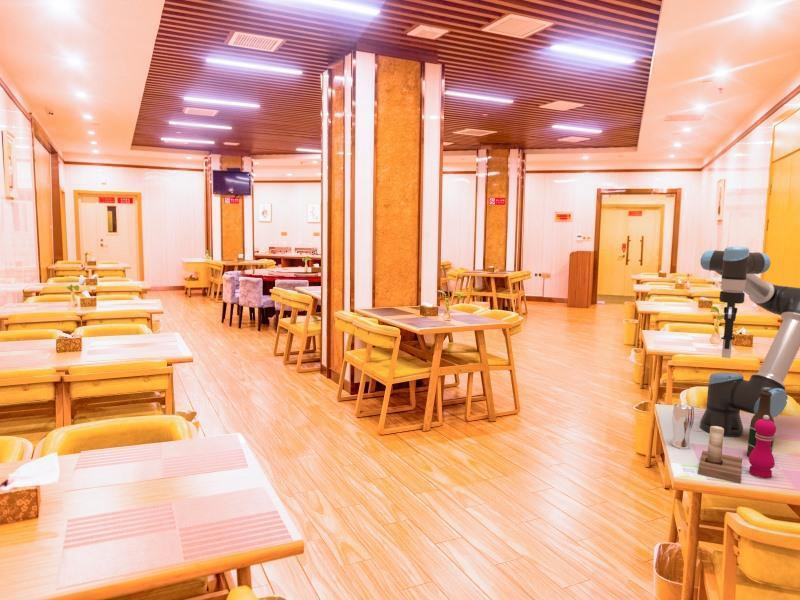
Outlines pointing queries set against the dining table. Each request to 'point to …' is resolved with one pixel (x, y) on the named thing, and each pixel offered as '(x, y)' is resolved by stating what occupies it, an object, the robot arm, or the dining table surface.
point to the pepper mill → (763, 449)
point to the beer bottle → (762, 410)
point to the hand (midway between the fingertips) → (726, 357)
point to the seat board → (721, 467)
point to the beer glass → (682, 425)
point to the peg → (715, 445)
